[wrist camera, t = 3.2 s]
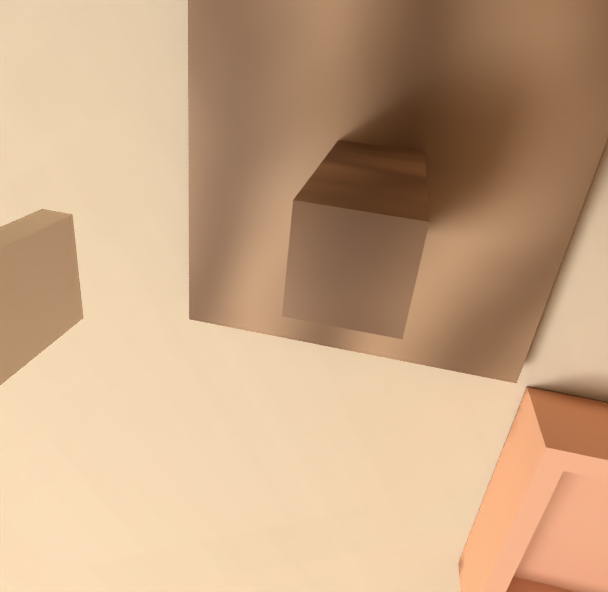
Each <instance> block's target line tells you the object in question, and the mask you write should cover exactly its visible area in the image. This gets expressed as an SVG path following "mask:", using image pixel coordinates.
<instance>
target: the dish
mask: <svg viewBox="0 0 608 592" xmlns="http://www.w3.org/2000/svg"><path fill="white" fill-rule="evenodd" d="M459 574H460V587H461V592H608V403H607V402H602V401H597V400H592V399H587V398H582V397H577V396H572V395H566V394H561V393H556V392H551V391H546V390H541V389H536V388H531V387H527V388H526V390H525V393H524V396H523V398H522V401H521V403H520V406H519V408H518V411H517V414H516V416H515V419H514V421H513V424H512V427H511V429H510V432H509V434H508V437H507V439H506V442H505V445H504V447H503V450H502V452H501V455H500V457H499V460H498V463H497V465H496V468H495V470H494V473H493V476H492V478H491V481H490V483H489V486H488V488H487V491H486V494H485V496H484V499H483V501H482V504H481V506H480V509H479V512H478V514H477V517H476V519H475V522H474V525H473V527H472V530H471V532H470V535H469V537H468V540H467V543H466V545H465V548H464V550H463V553H462V555H461V558H460V561H459Z"/></svg>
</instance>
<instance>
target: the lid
mask: <svg viewBox="0 0 608 592" xmlns="http://www.w3.org/2000/svg"><path fill="white" fill-rule="evenodd" d="M188 94H189V319H191V320H196V321H201V322H206V323H212V324H217V325H222V326H227V327H232V328H237V329H242V330H247V331H252V332H257V333H263V334H268V335H273V336H278V337H283V338H288V339H293V340H298V341H303V342H309V343H314V344H319V345H324V346H329V347H334V348H339V349H344V350H349V351H354V352H360V353H365V354H370V355H375V356H380V357H385V358H390V359H395V360H400V361H406V362H411V363H416V364H421V365H426V366H431V367H436V368H441V369H446V370H452V371H457V372H462V373H467V374H472V375H477V376H482V377H487V378H492V379H497V380H503V381H508V382H513V383H517V380H518V378H519V375H520V372H521V370H522V367H523V364H524V362H525V359H526V356H527V354H528V351H529V348H530V345H531V343H532V340H533V337H534V335H535V332H536V329H537V327H538V324H539V321H540V319H541V316H542V313H543V311H544V308H545V305H546V303H547V300H548V297H549V295H550V292H551V289H552V287H553V284H554V281H555V279H556V276H557V273H558V271H559V268H560V265H561V263H562V260H563V257H564V255H565V252H566V249H567V247H568V244H569V241H570V239H571V236H572V233H573V230H574V228H575V225H576V222H577V220H578V217H579V214H580V212H581V209H582V206H583V204H584V201H585V198H586V196H587V193H588V190H589V188H590V185H591V182H592V180H593V177H594V174H595V172H596V169H597V166H598V164H599V161H600V158H601V156H602V153H603V150H604V148H605V145H606V142H607V140H608V0H188Z"/></svg>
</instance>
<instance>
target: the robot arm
mask: <svg viewBox="0 0 608 592" xmlns="http://www.w3.org/2000/svg"><path fill="white" fill-rule="evenodd" d="M81 319H83V310H82V301H81V291H80V282H79V272H78V263H77V253H76V244H75V235H74V225H73V216H72V214H67V213H61V212H56V211H50V210H44V209H41V210H39V211H37V212H34V213H32V214H30V215H27V216H25V217H23V218H20V219H18V220H16V221H14V222H11V223H9V224H7V225H4V226H2V227H0V385H1V384H2V383H4V382H5V381H6V380H7V379H8V378H10V377H11V376H12V375H13V374H15V373H16V372H17V371H18V370H20V369H21V368H22V367H23V366H25V365H26V364H27V363H28V362H29V361H31V360H32V359H33V358H34V357H36V356H37V355H38V354H39V353H41V352H42V351H43V350H44V349H46V348H47V347H48V346H49V345H50V344H52V343H53V342H54V341H55V340H57V339H58V338H59V337H60V336H62V335H63V334H64V333H65V332H66V331H68V330H69V329H70V328H71V327H73V326H74V325H75V324H76V323H78V322H79V321H80V320H81Z"/></svg>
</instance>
